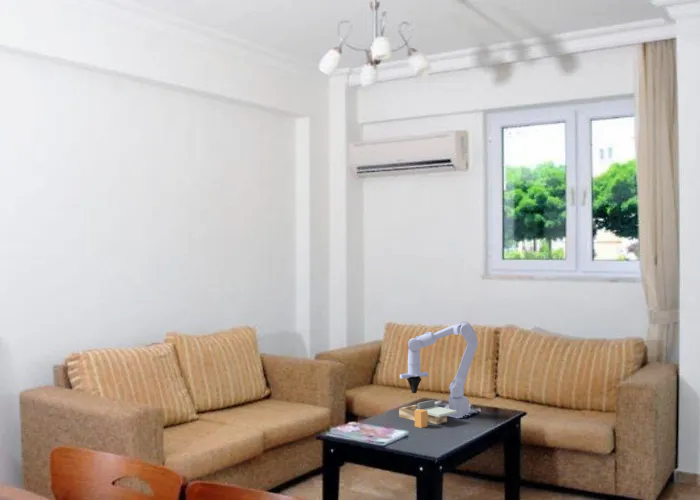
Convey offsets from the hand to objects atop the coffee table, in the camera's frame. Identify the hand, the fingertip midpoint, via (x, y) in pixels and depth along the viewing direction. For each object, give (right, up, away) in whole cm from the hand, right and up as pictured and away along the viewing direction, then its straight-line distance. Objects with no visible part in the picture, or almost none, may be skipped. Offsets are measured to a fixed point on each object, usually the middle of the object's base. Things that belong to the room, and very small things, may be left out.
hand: (414, 392), depth 345 cm
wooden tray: (+4, -11, -8) cm, 14 cm away
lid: (+9, -6, -13) cm, 17 cm away
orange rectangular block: (+1, -11, -21) cm, 24 cm away
